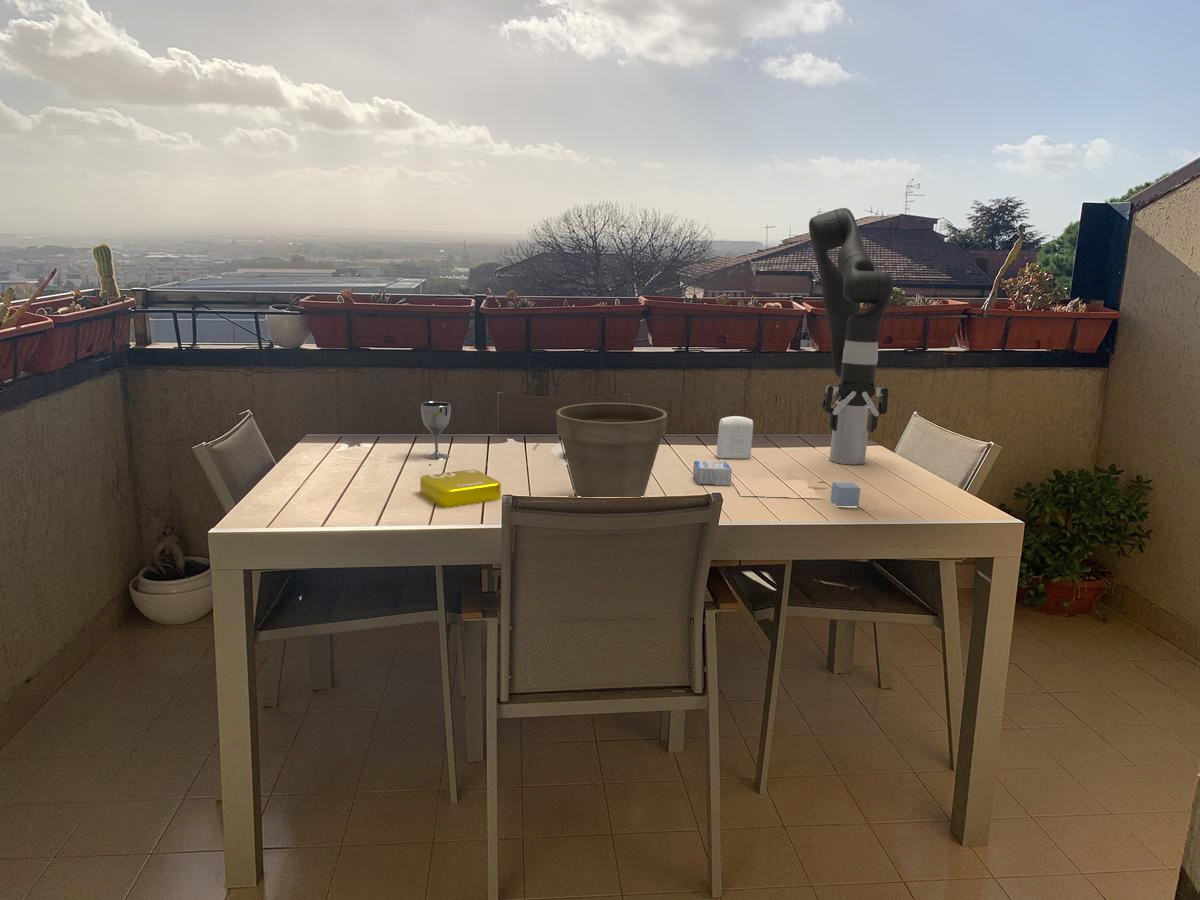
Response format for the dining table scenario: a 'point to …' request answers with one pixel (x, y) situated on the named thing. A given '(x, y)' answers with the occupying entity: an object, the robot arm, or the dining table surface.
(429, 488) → the element tile
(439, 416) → the wine glass
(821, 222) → the robot arm
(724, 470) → the medicine box
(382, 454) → the dining table surface
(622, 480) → the plant pot
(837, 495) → the slate-blue cube
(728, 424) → the photo printer
